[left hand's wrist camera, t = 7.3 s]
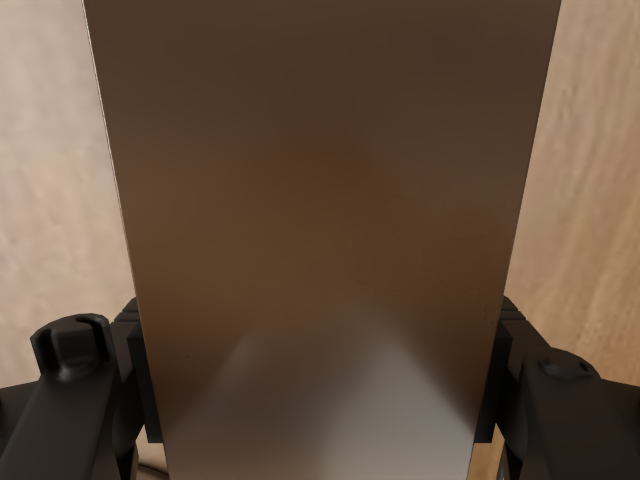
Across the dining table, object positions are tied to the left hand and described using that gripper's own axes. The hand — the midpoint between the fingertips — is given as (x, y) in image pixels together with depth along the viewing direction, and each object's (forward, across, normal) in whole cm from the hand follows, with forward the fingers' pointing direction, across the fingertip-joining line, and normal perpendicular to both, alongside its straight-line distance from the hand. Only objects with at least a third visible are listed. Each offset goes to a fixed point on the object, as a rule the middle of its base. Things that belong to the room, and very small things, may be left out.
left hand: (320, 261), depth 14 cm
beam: (0, 0, -28) cm, 29 cm away
